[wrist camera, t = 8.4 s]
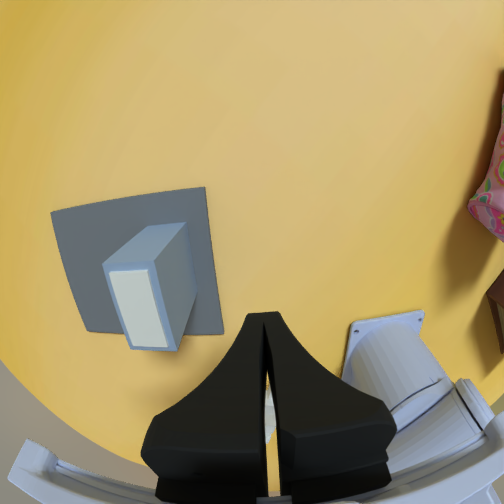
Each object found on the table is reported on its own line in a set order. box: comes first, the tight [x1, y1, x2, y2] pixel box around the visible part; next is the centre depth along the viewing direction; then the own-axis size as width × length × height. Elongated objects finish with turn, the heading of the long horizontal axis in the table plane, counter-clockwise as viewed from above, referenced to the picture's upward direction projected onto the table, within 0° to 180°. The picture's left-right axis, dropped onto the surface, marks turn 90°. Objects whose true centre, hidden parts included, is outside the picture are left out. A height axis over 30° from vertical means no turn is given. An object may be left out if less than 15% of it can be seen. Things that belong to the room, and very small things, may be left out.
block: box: [102, 222, 198, 351], centre depth 16 cm, size 6×3×7 cm, turn 4°
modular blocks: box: [265, 384, 276, 443], centre depth 25 cm, size 20×7×4 cm, turn 171°
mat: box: [51, 187, 224, 335], centre depth 20 cm, size 12×14×1 cm
